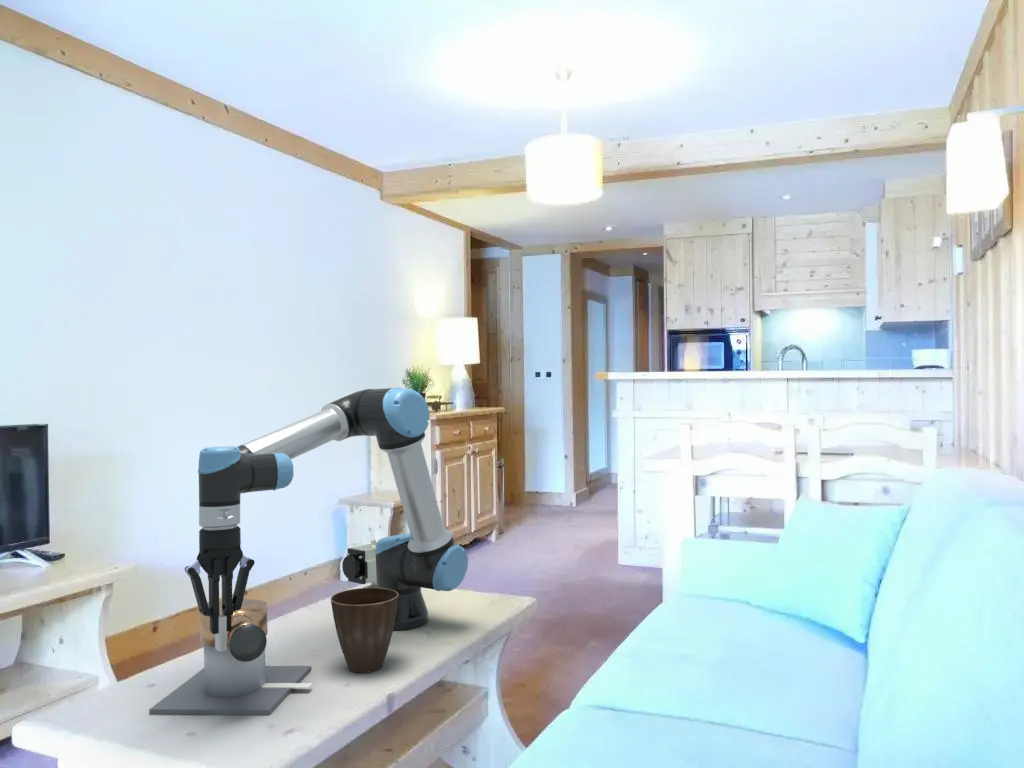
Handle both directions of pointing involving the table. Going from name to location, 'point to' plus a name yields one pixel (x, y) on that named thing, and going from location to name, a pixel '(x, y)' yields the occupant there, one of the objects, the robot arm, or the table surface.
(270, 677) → the duct stub
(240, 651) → the copper flat bottle shape
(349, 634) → the plant pot
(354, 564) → the ball valve
